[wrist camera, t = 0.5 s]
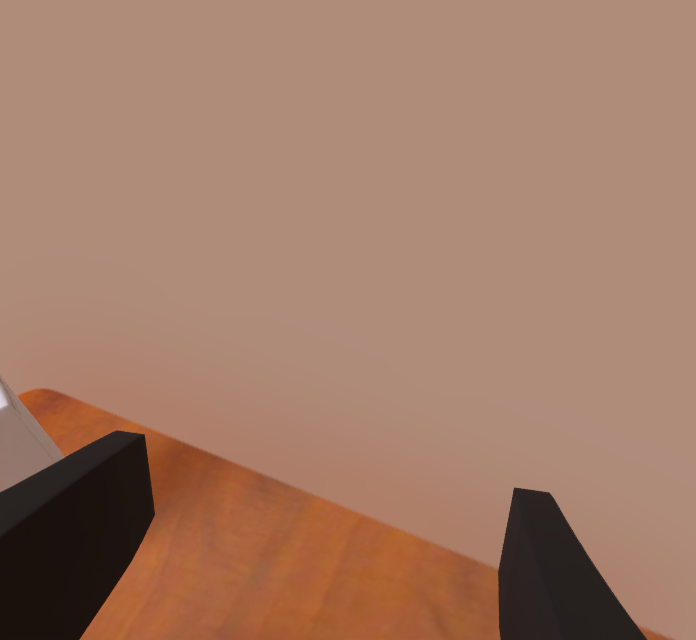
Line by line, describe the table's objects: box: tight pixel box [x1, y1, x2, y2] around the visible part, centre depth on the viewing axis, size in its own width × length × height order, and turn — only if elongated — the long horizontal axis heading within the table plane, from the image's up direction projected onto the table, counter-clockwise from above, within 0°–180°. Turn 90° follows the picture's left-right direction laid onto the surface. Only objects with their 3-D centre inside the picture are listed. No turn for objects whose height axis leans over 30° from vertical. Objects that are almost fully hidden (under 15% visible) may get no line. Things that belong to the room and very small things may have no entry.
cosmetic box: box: [0, 376, 65, 492], centre depth 34 cm, size 6×4×12 cm
